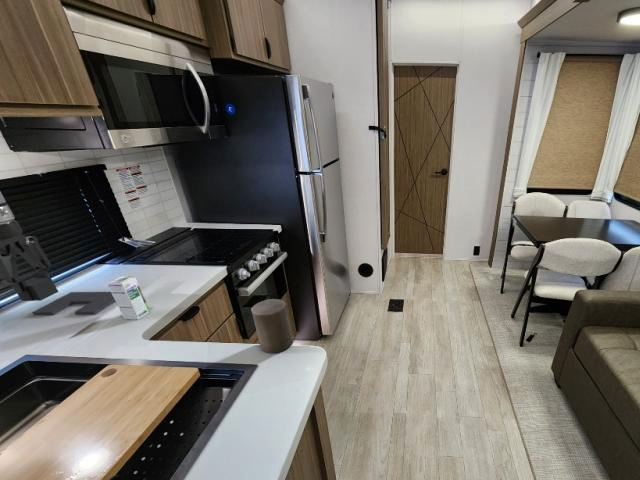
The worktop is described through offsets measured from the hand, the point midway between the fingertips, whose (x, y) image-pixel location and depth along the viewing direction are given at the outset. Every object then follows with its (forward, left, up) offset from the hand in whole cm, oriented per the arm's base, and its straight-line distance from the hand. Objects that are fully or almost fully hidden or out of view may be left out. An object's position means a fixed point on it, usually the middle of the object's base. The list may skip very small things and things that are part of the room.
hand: (40, 295), depth 103 cm
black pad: (0, 0, 0) cm, 0 cm away
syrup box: (+17, +11, -15) cm, 25 cm away
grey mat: (-8, +18, -14) cm, 25 cm away
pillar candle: (+74, -8, -15) cm, 76 cm away
